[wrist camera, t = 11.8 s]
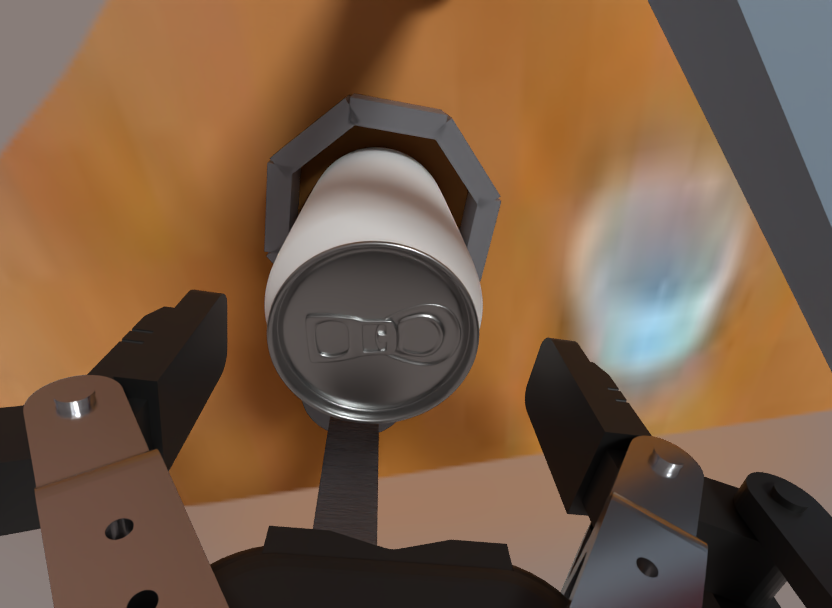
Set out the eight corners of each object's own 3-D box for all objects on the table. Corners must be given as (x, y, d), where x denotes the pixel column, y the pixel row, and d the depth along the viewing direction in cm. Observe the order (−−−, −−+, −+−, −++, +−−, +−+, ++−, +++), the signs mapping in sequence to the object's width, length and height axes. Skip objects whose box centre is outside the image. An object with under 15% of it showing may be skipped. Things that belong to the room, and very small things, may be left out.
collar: (505, 121, 22) (520, 128, 19) (459, 312, 26) (466, 336, 24) (282, 80, 20) (270, 82, 18) (273, 288, 25) (262, 310, 22)
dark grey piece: (421, 316, 26) (482, 725, 10) (398, 427, 29) (416, 862, 13) (311, 301, 25) (182, 723, 9) (301, 418, 29) (195, 868, 13)
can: (441, 273, 25) (486, 431, 14) (317, 275, 24) (266, 440, 14) (446, 145, 22) (507, 223, 11) (305, 144, 21) (229, 225, 11)
